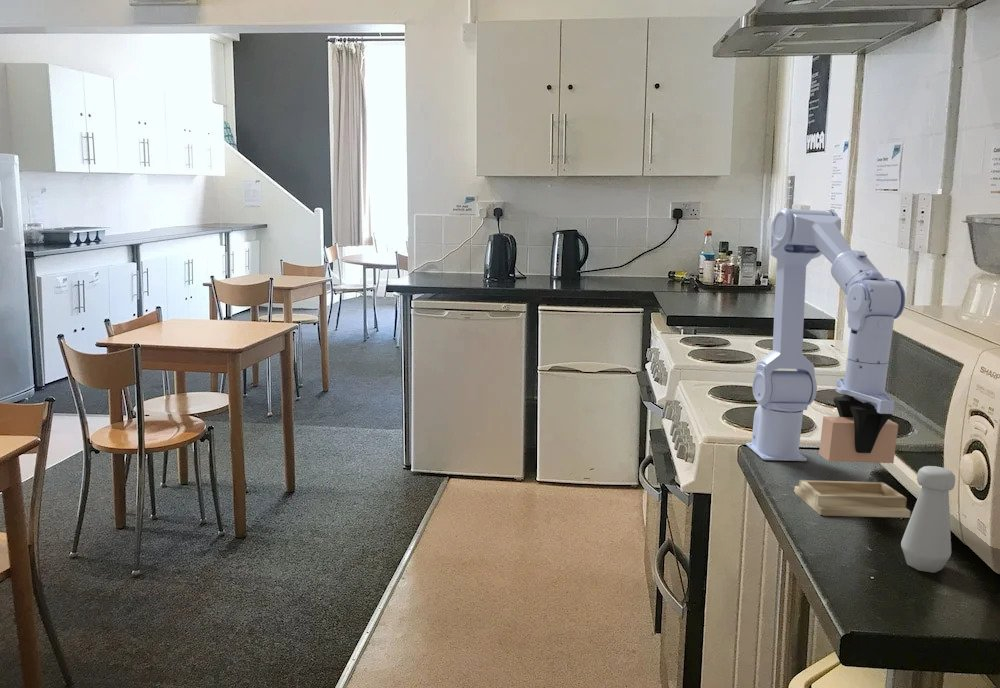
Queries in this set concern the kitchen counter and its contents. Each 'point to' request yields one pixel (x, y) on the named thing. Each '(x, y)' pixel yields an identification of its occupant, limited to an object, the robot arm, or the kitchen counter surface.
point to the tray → (852, 498)
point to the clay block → (841, 442)
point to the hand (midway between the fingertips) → (856, 448)
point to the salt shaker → (930, 521)
